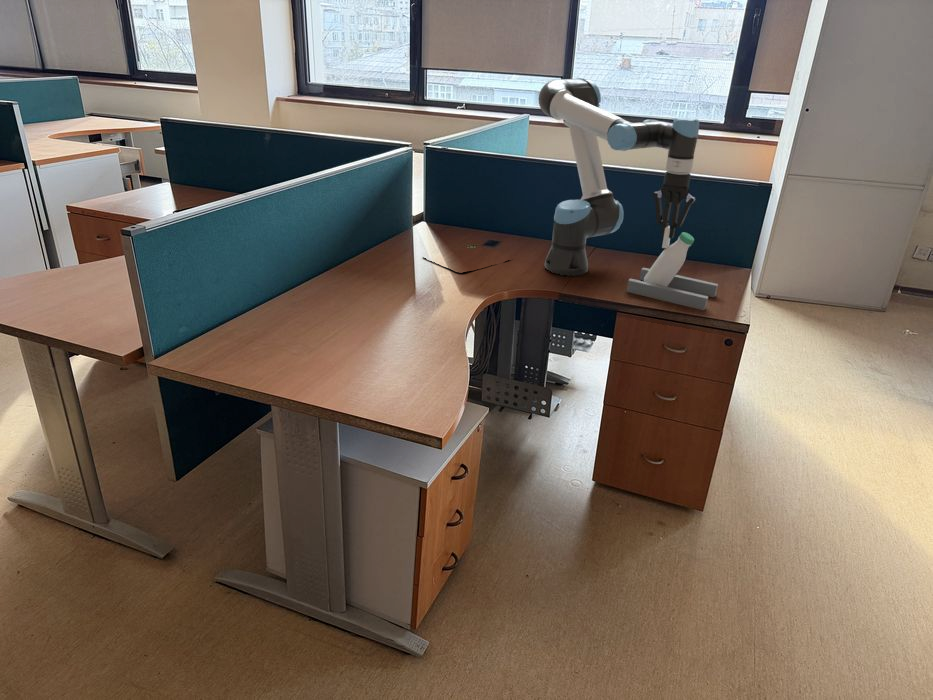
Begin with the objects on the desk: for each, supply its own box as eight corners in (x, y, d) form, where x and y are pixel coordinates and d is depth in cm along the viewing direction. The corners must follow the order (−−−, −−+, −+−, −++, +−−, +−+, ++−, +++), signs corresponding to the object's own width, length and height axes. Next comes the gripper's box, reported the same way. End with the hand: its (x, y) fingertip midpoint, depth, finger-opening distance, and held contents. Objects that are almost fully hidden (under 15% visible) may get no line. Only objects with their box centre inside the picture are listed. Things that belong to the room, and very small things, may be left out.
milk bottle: (663, 296, 211) (700, 247, 199) (642, 285, 211) (677, 235, 199) (663, 284, 218) (698, 236, 205) (643, 274, 217) (677, 225, 205)
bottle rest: (626, 291, 212) (628, 280, 210) (641, 278, 224) (643, 267, 222) (704, 310, 201) (706, 298, 199) (715, 295, 212) (718, 284, 210)
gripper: (653, 171, 197) (641, 246, 207) (696, 176, 191) (682, 253, 201) (660, 167, 202) (649, 240, 213) (703, 172, 196) (689, 248, 207)
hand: (665, 247), depth 207 cm, fingers closed
